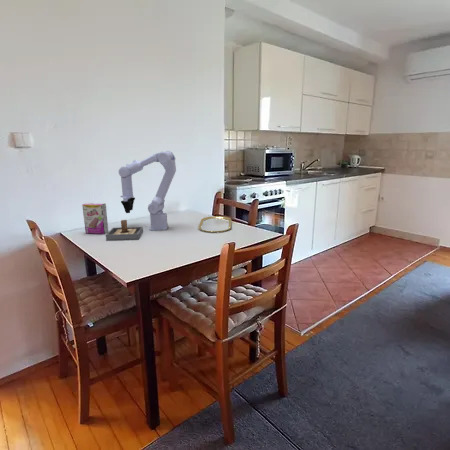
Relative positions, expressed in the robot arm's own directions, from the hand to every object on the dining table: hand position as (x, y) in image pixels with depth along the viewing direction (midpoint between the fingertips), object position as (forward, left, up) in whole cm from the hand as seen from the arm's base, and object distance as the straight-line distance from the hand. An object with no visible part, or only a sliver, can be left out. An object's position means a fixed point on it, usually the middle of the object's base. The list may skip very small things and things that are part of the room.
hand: (129, 211), depth 187 cm
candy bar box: (+16, +10, -10) cm, 21 cm away
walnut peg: (-1, +18, -9) cm, 20 cm away
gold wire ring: (-50, -1, -10) cm, 51 cm away
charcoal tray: (-1, +18, -9) cm, 20 cm away
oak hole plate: (-1, +18, -9) cm, 20 cm away
